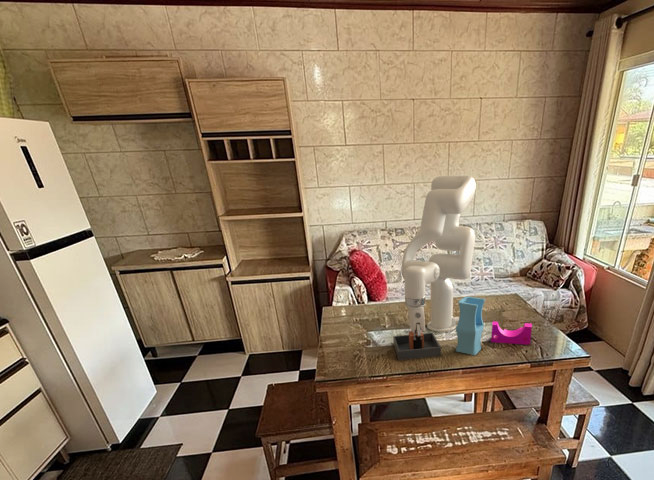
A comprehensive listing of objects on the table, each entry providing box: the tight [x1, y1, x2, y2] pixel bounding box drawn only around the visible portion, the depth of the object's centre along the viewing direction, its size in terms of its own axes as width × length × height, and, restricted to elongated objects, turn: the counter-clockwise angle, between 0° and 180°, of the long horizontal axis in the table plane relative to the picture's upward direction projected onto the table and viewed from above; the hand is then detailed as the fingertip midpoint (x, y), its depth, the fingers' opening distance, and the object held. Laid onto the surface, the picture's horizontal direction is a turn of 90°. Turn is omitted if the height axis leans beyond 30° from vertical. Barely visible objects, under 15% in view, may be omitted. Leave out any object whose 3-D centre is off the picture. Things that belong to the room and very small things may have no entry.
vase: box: [455, 296, 486, 356], centre depth 153 cm, size 8×8×20 cm
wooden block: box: [408, 330, 424, 350], centre depth 157 cm, size 5×5×7 cm
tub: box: [392, 332, 442, 361], centre depth 158 cm, size 16×14×4 cm
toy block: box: [490, 320, 533, 346], centre depth 163 cm, size 15×6×8 cm, turn 76°
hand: (416, 345), depth 158 cm, fingers closed on wooden block, 5 cm apart
